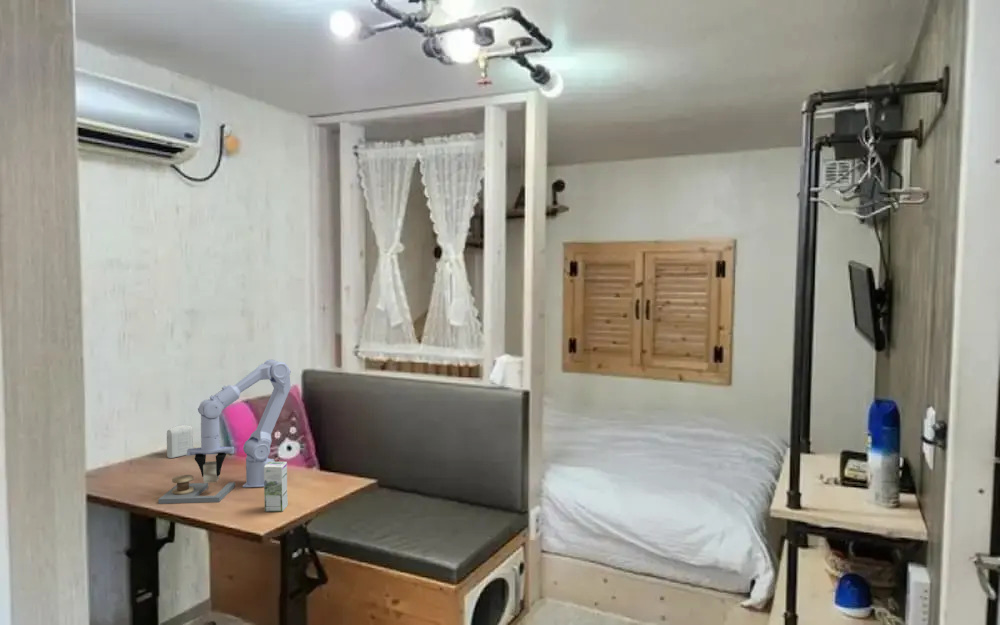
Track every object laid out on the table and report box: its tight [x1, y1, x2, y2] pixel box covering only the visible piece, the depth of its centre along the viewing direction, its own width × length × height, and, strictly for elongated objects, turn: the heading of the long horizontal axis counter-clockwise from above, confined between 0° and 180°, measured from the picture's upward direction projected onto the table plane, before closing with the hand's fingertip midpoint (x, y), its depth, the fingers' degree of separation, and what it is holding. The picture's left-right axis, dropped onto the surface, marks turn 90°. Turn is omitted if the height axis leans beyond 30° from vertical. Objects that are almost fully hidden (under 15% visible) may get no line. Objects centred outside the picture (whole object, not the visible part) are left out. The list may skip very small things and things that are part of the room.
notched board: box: [157, 481, 236, 505], centre depth 217 cm, size 19×16×2 cm
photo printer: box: [166, 424, 194, 459], centre depth 266 cm, size 10×4×12 cm, turn 147°
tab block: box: [203, 460, 220, 484], centre depth 218 cm, size 4×4×6 cm
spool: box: [171, 474, 194, 495], centre depth 216 cm, size 6×6×5 cm
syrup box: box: [263, 461, 289, 513], centre depth 204 cm, size 6×6×14 cm
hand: (211, 475), depth 218 cm, fingers closed on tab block, 4 cm apart
